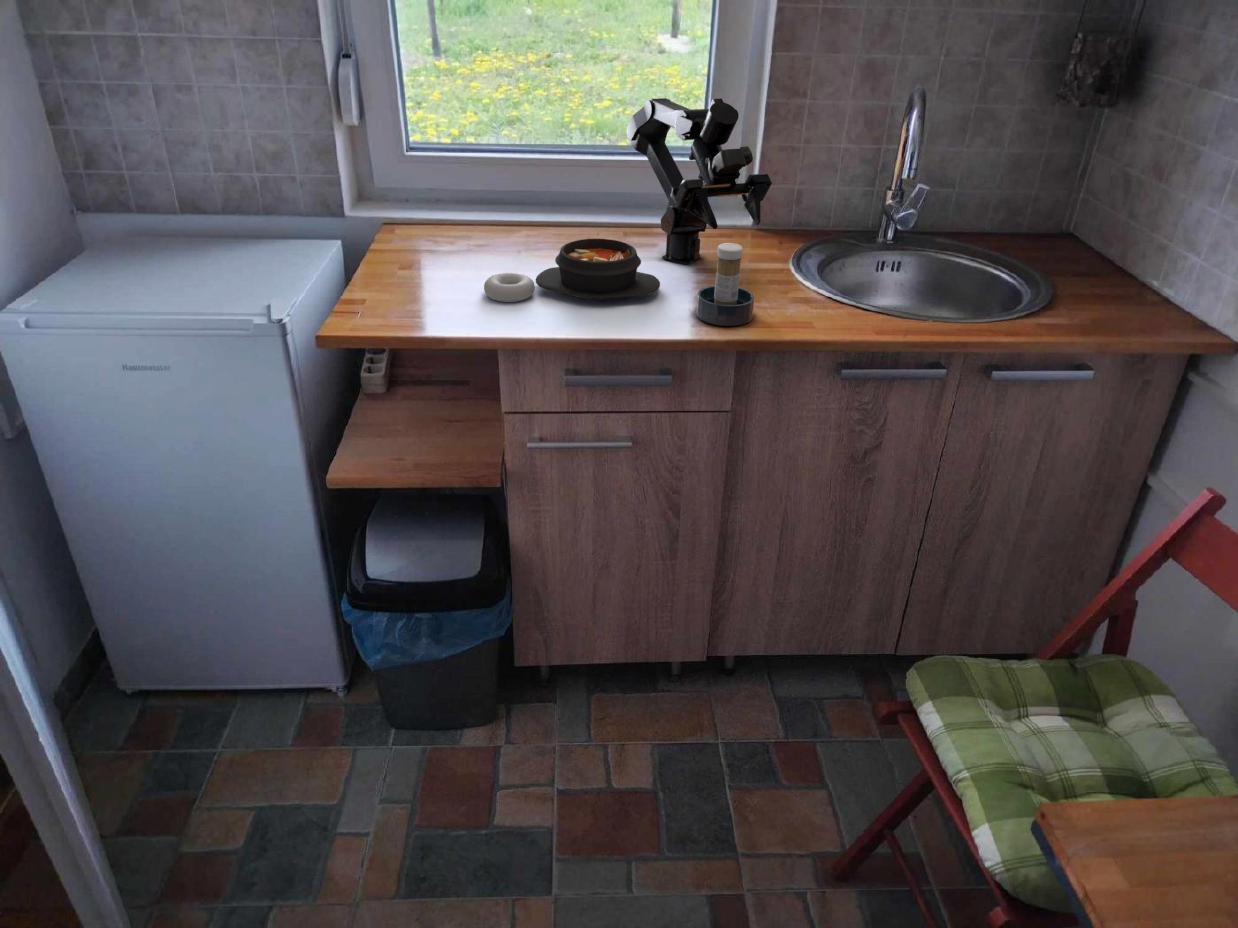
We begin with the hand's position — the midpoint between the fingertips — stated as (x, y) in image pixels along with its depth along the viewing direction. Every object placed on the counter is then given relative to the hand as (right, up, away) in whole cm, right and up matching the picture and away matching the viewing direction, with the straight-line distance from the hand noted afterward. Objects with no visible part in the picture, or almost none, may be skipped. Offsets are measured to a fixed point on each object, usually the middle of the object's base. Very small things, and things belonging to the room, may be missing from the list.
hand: (737, 225), depth 176 cm
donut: (-44, -13, +5) cm, 46 cm away
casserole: (-27, -11, +8) cm, 30 cm away
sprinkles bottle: (-3, -18, -2) cm, 18 cm away
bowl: (-3, -18, -2) cm, 18 cm away
